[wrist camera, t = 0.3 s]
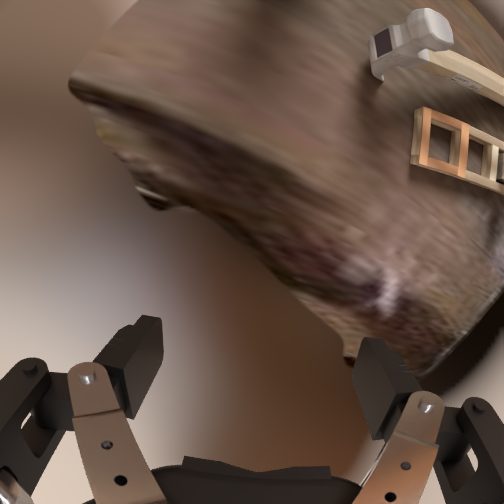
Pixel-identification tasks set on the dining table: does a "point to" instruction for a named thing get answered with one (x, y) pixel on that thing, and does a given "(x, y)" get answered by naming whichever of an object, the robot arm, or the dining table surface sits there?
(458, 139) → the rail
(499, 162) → the steel peg
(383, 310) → the dining table surface
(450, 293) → the dining table surface
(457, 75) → the hammer
